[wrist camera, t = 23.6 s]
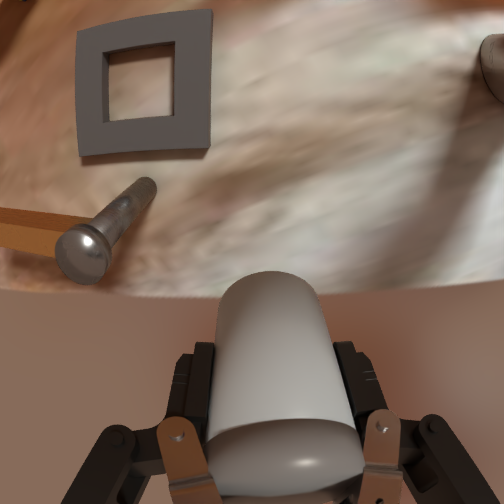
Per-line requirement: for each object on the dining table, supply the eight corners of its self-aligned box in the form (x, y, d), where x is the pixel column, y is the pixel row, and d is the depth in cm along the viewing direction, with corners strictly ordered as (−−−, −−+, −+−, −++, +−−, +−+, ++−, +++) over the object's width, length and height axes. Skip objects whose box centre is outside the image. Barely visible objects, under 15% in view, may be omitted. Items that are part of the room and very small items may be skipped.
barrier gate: (17, 164, 25) (-68, 210, 13) (164, 172, 27) (102, 236, 15) (19, 193, 27) (-59, 248, 15) (161, 207, 29) (107, 289, 17)
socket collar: (213, 13, 20) (211, 8, 19) (210, 145, 26) (208, 148, 25) (84, 33, 20) (77, 31, 19) (86, 153, 26) (79, 156, 25)
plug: (328, 270, 14) (395, 456, 6) (312, 348, 16) (342, 502, 8) (215, 269, 13) (188, 471, 5) (219, 348, 16) (208, 510, 8)
